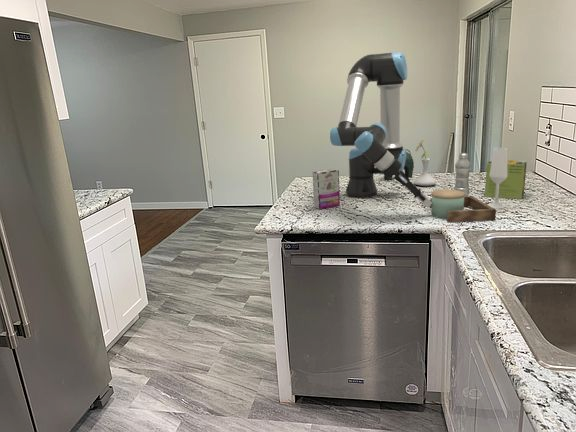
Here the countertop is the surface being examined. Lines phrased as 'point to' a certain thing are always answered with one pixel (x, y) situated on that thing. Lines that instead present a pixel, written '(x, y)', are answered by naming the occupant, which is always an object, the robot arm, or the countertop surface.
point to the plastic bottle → (462, 174)
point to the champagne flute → (498, 172)
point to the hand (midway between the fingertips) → (429, 204)
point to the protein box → (508, 181)
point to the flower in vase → (424, 170)
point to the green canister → (446, 202)
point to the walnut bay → (471, 211)
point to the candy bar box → (326, 188)
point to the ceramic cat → (406, 166)
